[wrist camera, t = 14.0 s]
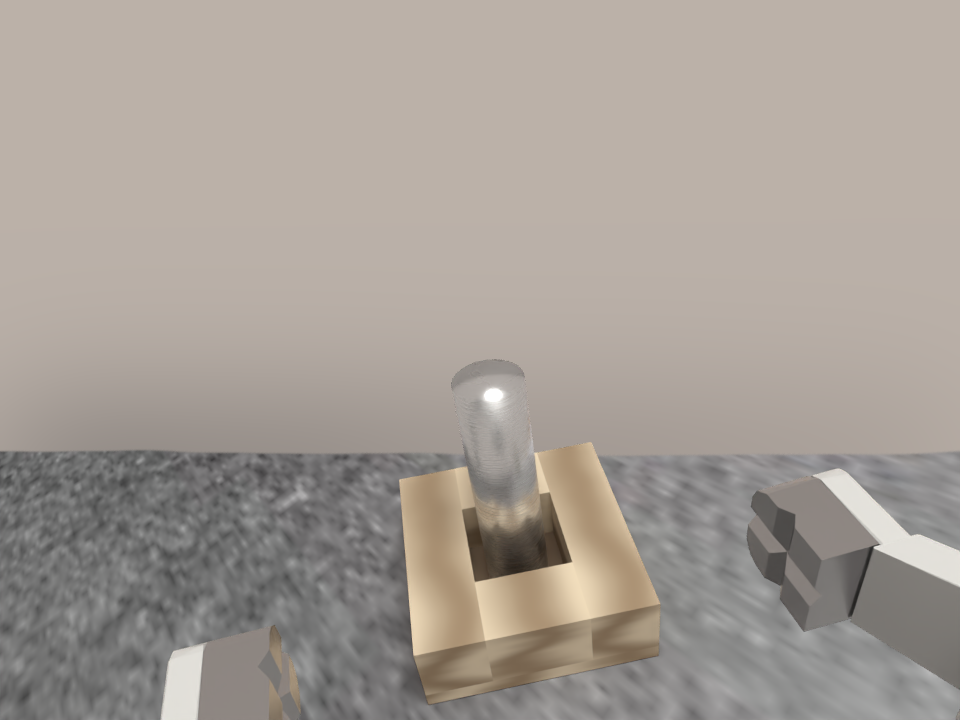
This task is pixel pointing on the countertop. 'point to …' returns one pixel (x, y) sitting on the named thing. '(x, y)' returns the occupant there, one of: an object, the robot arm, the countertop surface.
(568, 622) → the socket block
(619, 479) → the countertop surface
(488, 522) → the pin
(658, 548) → the countertop surface
